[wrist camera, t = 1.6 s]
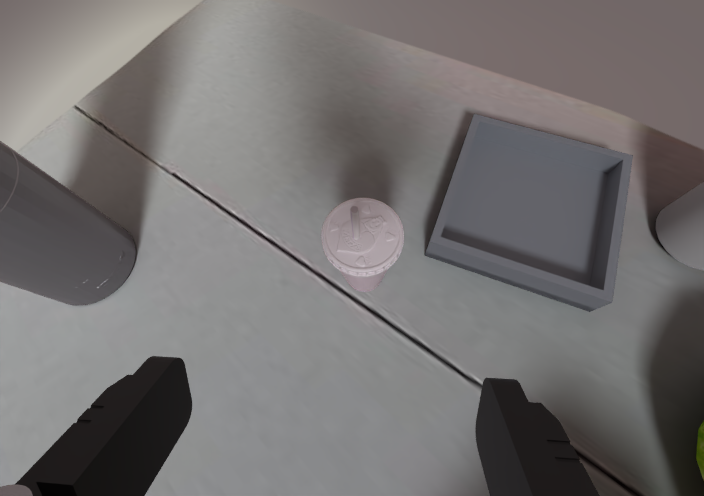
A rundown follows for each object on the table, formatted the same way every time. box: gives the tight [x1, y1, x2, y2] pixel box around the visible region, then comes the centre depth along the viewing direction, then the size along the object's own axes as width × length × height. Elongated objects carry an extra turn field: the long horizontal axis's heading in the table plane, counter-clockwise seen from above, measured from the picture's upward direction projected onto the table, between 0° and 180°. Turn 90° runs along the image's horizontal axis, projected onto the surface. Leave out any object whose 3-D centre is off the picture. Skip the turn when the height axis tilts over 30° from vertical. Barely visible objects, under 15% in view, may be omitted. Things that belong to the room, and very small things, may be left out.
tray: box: [425, 114, 633, 312], centre depth 37 cm, size 16×16×4 cm
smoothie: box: [321, 198, 404, 292], centre depth 31 cm, size 6×6×14 cm
